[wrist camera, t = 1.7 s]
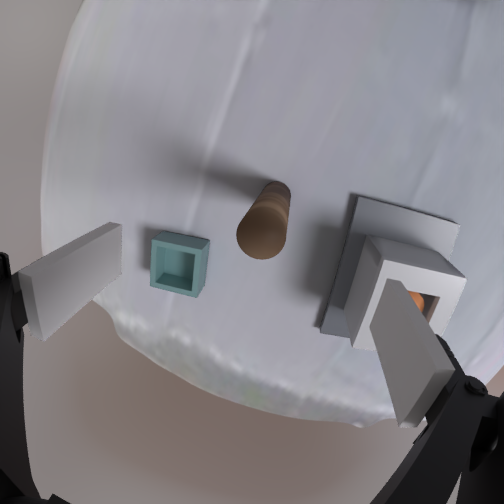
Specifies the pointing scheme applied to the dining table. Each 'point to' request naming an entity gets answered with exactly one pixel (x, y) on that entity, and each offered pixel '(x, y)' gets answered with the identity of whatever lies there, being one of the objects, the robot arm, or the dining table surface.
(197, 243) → the box
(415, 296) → the button
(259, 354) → the dining table surface
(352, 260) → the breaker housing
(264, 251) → the brown wooden rod
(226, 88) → the dining table surface
